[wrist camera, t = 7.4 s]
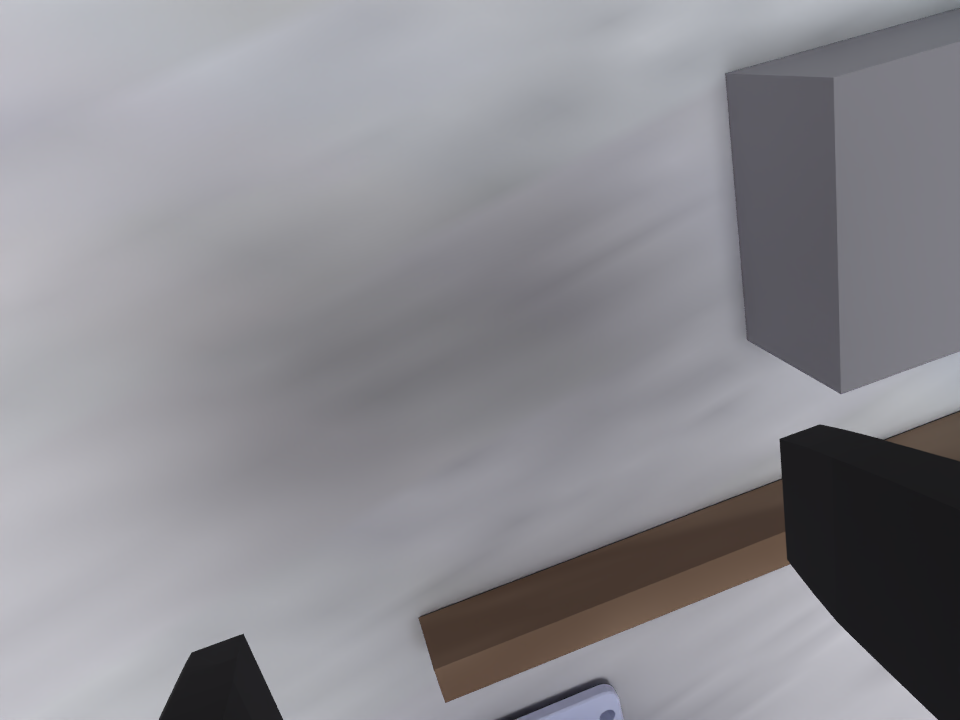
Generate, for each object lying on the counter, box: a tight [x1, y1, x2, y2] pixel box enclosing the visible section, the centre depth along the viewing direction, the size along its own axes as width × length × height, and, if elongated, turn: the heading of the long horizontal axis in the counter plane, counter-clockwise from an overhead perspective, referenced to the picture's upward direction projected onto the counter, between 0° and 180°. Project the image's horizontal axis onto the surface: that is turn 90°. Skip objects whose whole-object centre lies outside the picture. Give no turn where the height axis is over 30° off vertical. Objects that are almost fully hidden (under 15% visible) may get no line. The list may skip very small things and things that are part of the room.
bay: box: [419, 412, 960, 703], centre depth 18 cm, size 19×20×3 cm
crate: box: [725, 8, 960, 394], centre depth 18 cm, size 7×8×4 cm
